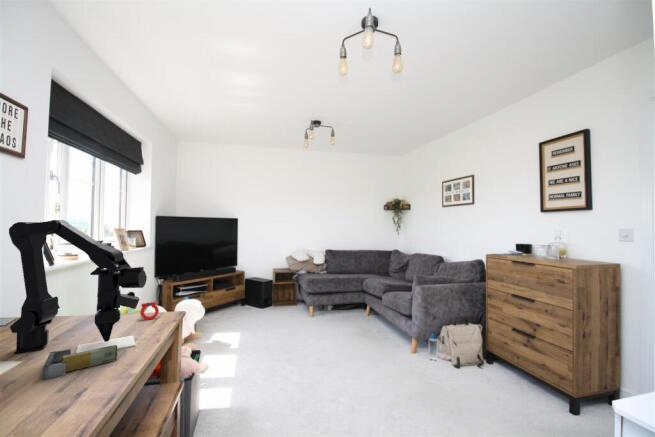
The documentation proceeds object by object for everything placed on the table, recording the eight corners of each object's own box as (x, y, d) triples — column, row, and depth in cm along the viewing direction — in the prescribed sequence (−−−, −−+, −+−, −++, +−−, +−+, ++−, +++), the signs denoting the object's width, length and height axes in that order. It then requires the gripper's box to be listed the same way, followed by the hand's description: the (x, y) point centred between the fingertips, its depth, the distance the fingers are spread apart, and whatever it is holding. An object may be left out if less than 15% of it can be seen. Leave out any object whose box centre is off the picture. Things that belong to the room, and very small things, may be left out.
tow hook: (141, 320, 120) (139, 303, 123) (136, 328, 126) (134, 312, 129) (159, 317, 124) (157, 300, 127) (153, 325, 130) (152, 309, 133)
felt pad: (74, 357, 87) (74, 356, 87) (77, 346, 95) (77, 345, 95) (135, 346, 96) (135, 344, 96) (133, 336, 104) (133, 335, 104)
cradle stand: (42, 379, 74) (42, 367, 74) (50, 362, 83) (50, 352, 84) (65, 374, 77) (66, 363, 77) (70, 358, 86) (71, 348, 86)
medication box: (115, 358, 87) (116, 344, 88) (117, 360, 85) (118, 346, 86) (61, 370, 79) (62, 355, 79) (61, 373, 77) (62, 357, 78)
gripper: (140, 290, 93) (138, 340, 93) (136, 281, 108) (134, 324, 108) (95, 295, 86) (93, 348, 86) (97, 284, 101) (96, 330, 101)
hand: (107, 336), depth 95 cm, fingers open, 9 cm apart
